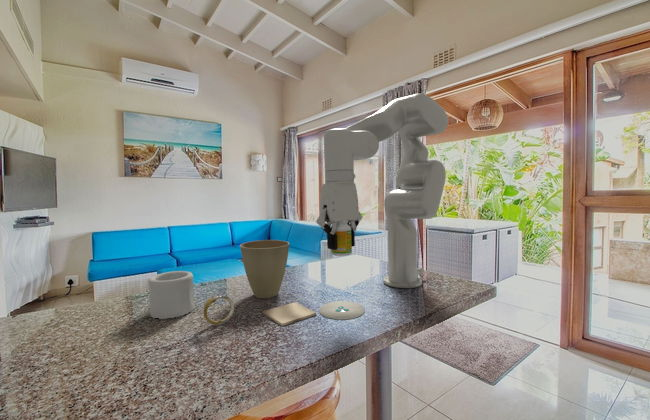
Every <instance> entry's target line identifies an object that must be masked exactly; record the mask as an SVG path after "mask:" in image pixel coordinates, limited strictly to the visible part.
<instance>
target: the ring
mask: <svg viewBox="0 0 650 420" xmlns="http://www.w3.org/2000/svg"><path fill="white" fill-rule="evenodd" d="M221 299H223V300H226V301H227V302H228V303H229V305H230V310H229V312H228V314H227V315H226V316H225V317H224V318H223V319H217V320H213V319H210V317H209V316H208V309H209V307H210V306H211V305H212V304H213V303H215V302H216V301H217V300H221ZM234 310H235V305H234V302H233V299H232V298H231V297H230V296H228V295H225V291H223V292H222V293H221V292H220V291H219V290H218V291H214V293H213V294H210V295H209V297H208V298H207V299H206V301H205V303H204V305H203V310H202V311H203V317H204V319H205V321H206V322H207V323H209V324H211V325H215V326H216V325H217V326H221V325H223V324H225V323H226V322H228V321H229V320H230V319H231V317H232V316H233V314H234Z"/></svg>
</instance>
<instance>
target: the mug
mask: <svg viewBox="0 0 650 420" xmlns="http://www.w3.org/2000/svg"><path fill="white" fill-rule="evenodd" d="M147 283H148V284H147V285H148V289H149V292H148V293H149V316H150V317H151V318H153V319H155V318H159V319H158V320H168V319H167V318H171V319H175V317H176V318H180V317H183V316H186V315H187V314H189V312H190V313H191V312H192V311H193V310H194V309H195V295H194V294H195V293H194V292H195V291H194V275H193V273H192V272H191V271H185V270H173V271H168V272H167V271H166V272H162V273H157V274H155V275H152V276H150V277H149V279H148V280H147ZM185 314H186V315H185Z"/></svg>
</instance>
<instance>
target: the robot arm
mask: <svg viewBox="0 0 650 420" xmlns="http://www.w3.org/2000/svg"><path fill="white" fill-rule="evenodd" d="M448 123H449V118H448V114H447V112H446V110H445V109H444V108H443V107H442V106H441V105H440V104H439V103H438V102H437V101H436V100H435V99H433V98H432V97H431V96H430V95H427V94H425V93H419V92H417V93H414V94H411V95H407V96H403V97H399V98H396V99H394V100H392V101H390V102H389V103H387V105H384V106H383V107H382V108H380V109H379V110H377V111H376V112H375V113H373V114H372V115H369V116H367V117H365V118H364V119H361V120H360V121H357V122H355V123H353V124H352V125H349V126H347V127H346V128H343V127H342V128H332V129H328V130H326V131H325V132H324V134H323V155H324V156H323V158H324V160H323V162H324V183H323V184H322V185H321V189H320V190H321V191H320V197H319V198H320V199H319V216H318V217H317V219H316V221H315V222H316V224H317V225H318V226H319V227H320V228H321V229H322V230H323V231H324V233H325V234H326V244H327V249H328V250H331V249H332V250H337V234H335V230H336V226H337V223H338V222H342V221H348V223H347V224H348V225H349V226H350V227H351V241H352V248H353V247H355V245H356V241H355V238H356V237H355V232H356V231H357V227H358V225H359V223H360V222H361V220H362V219H363V215H362V213H361V212H360V211H359V209H360V208H359V197H358V190H357V185H356V183H355V179H356V174H355V171H354V170H355V167H354V166H355V163H354V161H359V160H360V161H361V160H367V159H368V160H369V159H370V158H373V157H375V155H376V154H377V153H378V151H379V148H380V142H383V141H386V140H388V139H390V138H392V137H393V135H395V134H396V133H397V132H398V134H399V137H400V140H401V143H402V146H403V154H402V159H401V162H400V165H399V166H398V170H397V171H398V172H397V176H396V184H397V186H398V187H399V188H400V189H394V190H391V191H390V192H389V191H388V193H387V194H386V195H385V196H384V200H383V201H384V202H383V203H384V204H383V207H384V212H385V216H386V222H387V224H386V225H387V276H385V277H384V278H383V283H384V284H385V285H387V286H388V287H393V288H397V289H413V288H418V287H421V286H422V284H423V280H422V279H421V278H420V277H419V275H421V274H423V273H424V272H425V269H424V268H423V267H418V232H417V229H416V225H415V224H414V222H413V221H412V219H413V220H414V219H415V220H417V219H418V220H419V219H420V220H429V219H433V218H434V217H435V216H437V214H438V212H439V208H440V205H441V200H442V197H443V191H444V190H445V189H444V187H445V184H446V175H447V171H446V167H445V166H444V164H443V163H442V161H440V160H437V159H429V155H430V154H429V153H430V152H429V150H428V148H427V147H426V145H425V144H424V142H423V141H421V140H420V138H421V137H428V136H434V135H436V136H437V135H439V134H442V133H443V132H445V131H446V130H447V128H448Z"/></svg>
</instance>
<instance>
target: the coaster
mask: <svg viewBox="0 0 650 420" xmlns="http://www.w3.org/2000/svg"><path fill="white" fill-rule="evenodd" d="M318 310H319V314H320V315H321V316H323V317H326V318H327V319H333V320H341V321H343V320H352V319H355V318H359V317H361V316H362V315H363V314H365V311H366V310H365V307H364V306H362V305H361V303H360V304H359V303H356V302H353V301H346V300H344V301H342V300H338V301H331V302H327V303H325V304H322V305H321V306H320V307H319V309H318Z"/></svg>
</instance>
